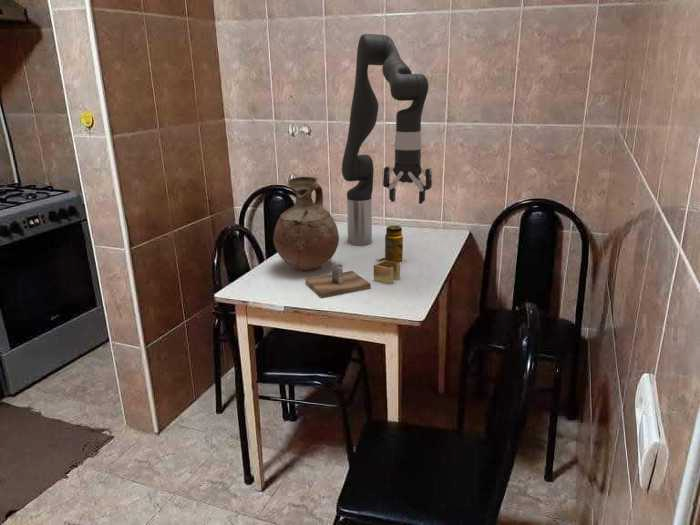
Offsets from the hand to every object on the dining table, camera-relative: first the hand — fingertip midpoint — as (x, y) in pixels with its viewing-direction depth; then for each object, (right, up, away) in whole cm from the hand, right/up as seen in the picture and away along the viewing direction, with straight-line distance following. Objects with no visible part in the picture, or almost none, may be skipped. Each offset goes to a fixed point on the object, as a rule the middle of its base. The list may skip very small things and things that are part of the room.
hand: (406, 202), depth 159 cm
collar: (-5, -23, +8) cm, 25 cm away
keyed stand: (-21, -25, +4) cm, 33 cm away
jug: (-31, -20, +21) cm, 42 cm away
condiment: (-3, -18, +25) cm, 31 cm away
